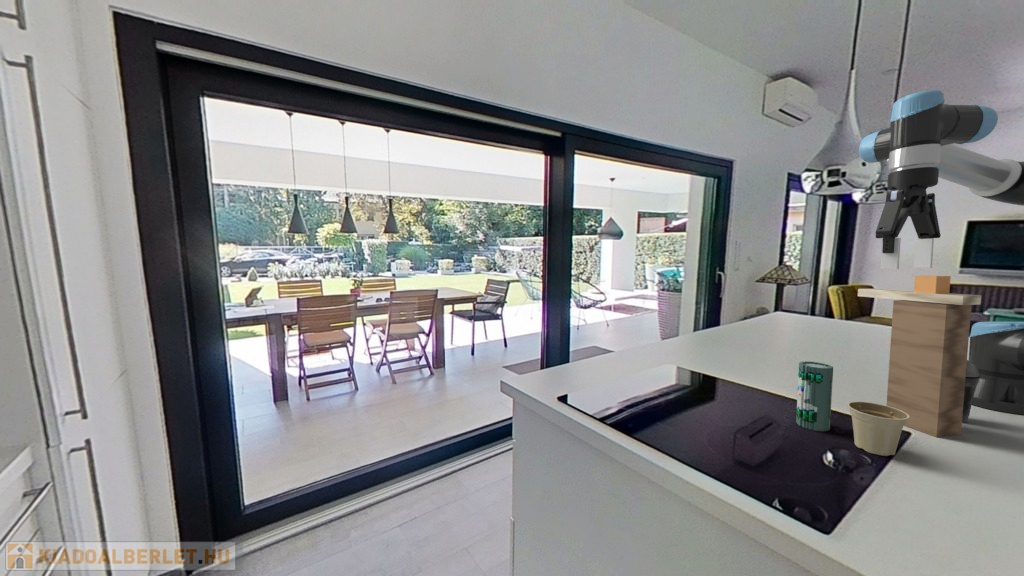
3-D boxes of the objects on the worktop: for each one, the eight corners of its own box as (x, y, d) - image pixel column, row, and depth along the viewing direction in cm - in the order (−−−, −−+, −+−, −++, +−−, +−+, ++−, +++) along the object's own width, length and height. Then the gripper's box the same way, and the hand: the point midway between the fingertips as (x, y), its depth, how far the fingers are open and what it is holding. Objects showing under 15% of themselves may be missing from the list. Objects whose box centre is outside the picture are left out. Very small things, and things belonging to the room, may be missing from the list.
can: (792, 419, 95) (795, 360, 94) (820, 421, 93) (824, 362, 92) (803, 429, 89) (807, 367, 88) (834, 432, 87) (838, 369, 86)
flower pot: (920, 463, 74) (923, 420, 73) (864, 458, 76) (867, 417, 75) (883, 440, 83) (886, 402, 82) (834, 437, 85) (836, 400, 84)
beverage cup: (943, 422, 92) (949, 342, 91) (924, 411, 99) (930, 336, 97) (984, 427, 89) (992, 344, 88) (962, 415, 96) (968, 338, 95)
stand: (908, 416, 96) (916, 299, 93) (960, 434, 86) (971, 304, 84) (885, 418, 94) (893, 300, 92) (936, 437, 85) (946, 305, 82)
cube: (927, 292, 90) (928, 275, 90) (949, 293, 86) (950, 276, 86) (913, 292, 89) (915, 275, 89) (935, 293, 85) (936, 276, 85)
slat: (873, 295, 102) (873, 288, 102) (980, 304, 81) (981, 295, 81) (857, 296, 101) (858, 288, 101) (962, 305, 81) (963, 295, 80)
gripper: (918, 177, 89) (913, 267, 90) (857, 169, 79) (852, 269, 81) (966, 170, 82) (959, 267, 83) (905, 160, 72) (898, 270, 74)
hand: (906, 268), depth 82 cm, fingers open, 13 cm apart
